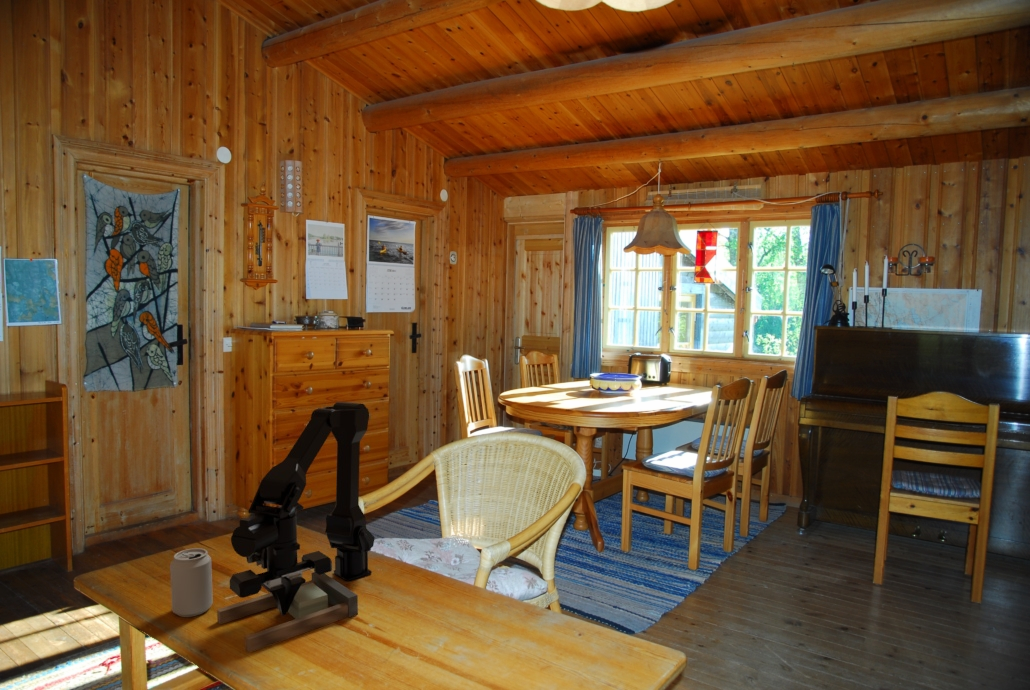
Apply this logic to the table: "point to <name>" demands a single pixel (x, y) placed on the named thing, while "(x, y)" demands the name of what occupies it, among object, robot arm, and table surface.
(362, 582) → the table surface
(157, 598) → the table surface
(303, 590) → the block
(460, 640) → the table surface
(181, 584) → the can
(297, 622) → the bay
